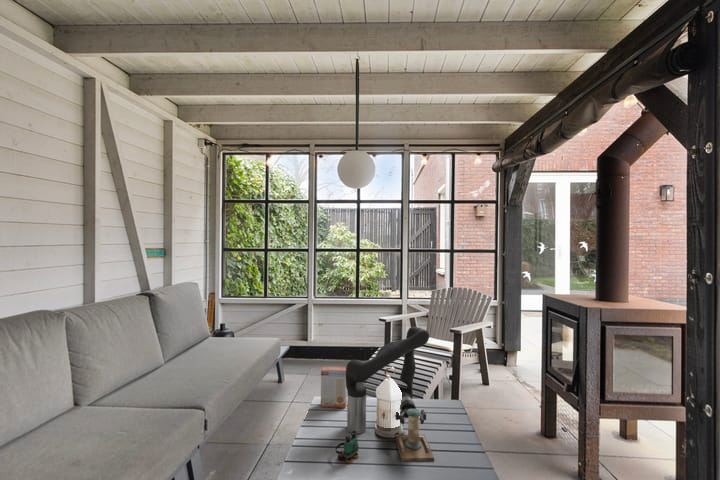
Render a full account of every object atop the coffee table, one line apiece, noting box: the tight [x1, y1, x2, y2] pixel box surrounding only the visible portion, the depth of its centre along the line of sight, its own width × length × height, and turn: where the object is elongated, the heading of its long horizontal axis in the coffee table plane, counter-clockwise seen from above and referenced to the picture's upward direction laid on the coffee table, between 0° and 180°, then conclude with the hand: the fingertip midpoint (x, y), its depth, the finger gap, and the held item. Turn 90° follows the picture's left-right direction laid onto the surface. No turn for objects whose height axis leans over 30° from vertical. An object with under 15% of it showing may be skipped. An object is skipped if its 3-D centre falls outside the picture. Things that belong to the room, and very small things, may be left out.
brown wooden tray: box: [395, 434, 435, 462], centre depth 175 cm, size 14×20×3 cm
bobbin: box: [406, 408, 421, 450], centre depth 175 cm, size 7×7×15 cm
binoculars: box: [335, 431, 360, 464], centre depth 167 cm, size 9×11×10 cm
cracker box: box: [320, 366, 348, 409], centre depth 219 cm, size 14×6×21 cm, turn 84°
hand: (412, 422), depth 177 cm, fingers open, 8 cm apart
